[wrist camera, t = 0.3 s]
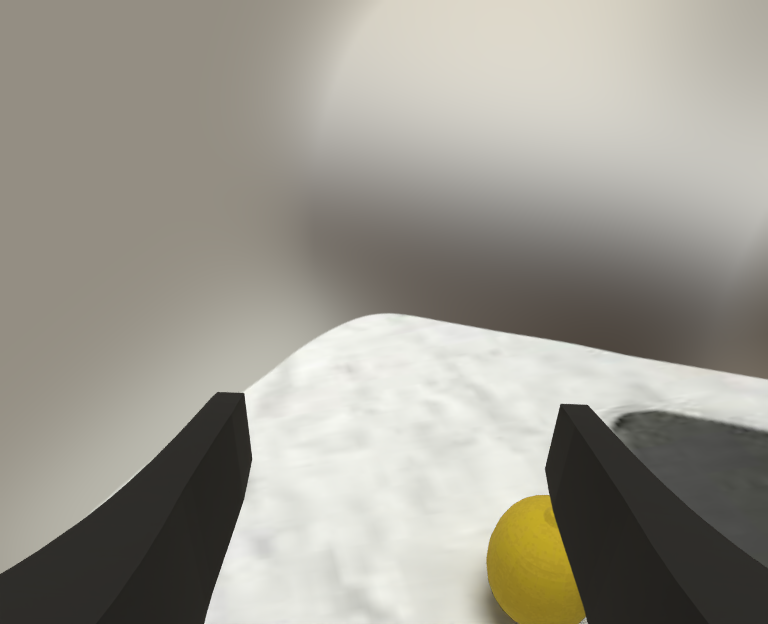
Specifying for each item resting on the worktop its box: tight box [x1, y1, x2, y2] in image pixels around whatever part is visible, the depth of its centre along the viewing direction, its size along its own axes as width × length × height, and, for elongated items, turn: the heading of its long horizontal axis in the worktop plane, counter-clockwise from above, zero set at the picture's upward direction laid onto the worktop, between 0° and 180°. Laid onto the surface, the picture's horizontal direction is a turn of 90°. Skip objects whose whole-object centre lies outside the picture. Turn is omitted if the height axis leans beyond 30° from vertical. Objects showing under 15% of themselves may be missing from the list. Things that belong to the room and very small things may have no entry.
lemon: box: [487, 495, 586, 624], centre depth 28 cm, size 6×6×8 cm
